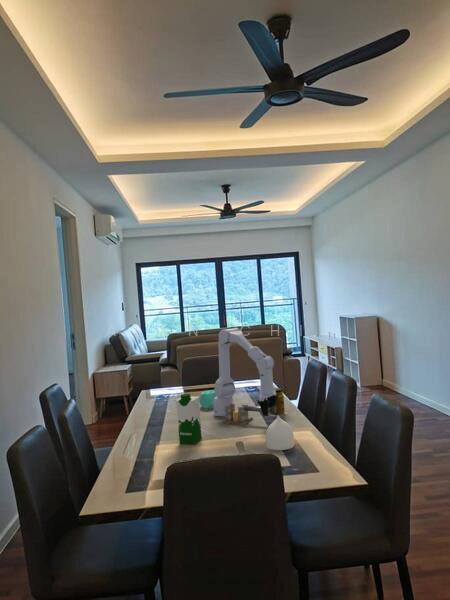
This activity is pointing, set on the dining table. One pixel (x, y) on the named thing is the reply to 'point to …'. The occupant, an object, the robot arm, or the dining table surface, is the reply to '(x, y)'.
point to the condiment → (279, 403)
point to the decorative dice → (207, 399)
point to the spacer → (235, 415)
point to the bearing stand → (241, 413)
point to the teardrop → (279, 435)
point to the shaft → (258, 409)
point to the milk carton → (188, 419)
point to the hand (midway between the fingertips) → (268, 413)
